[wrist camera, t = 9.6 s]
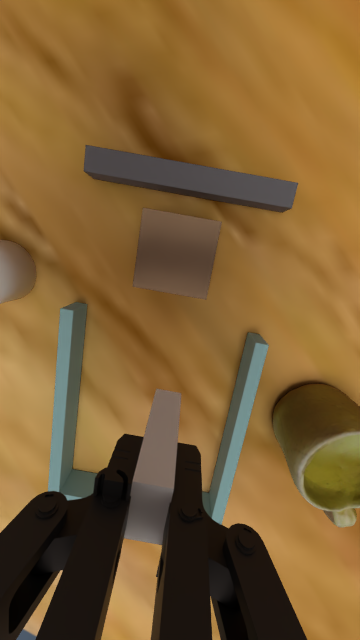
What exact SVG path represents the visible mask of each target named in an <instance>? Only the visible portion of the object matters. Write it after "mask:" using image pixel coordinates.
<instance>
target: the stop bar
mask: <svg viewBox="0 0 360 640" xmlns="http://www.w3.org/2000/svg"><path fill="white" fill-rule="evenodd" d="M84 172H86V173H87V174H88V175H89V176H91V177H92V178H93V179H98V180H103V181H109V182H115V183H120V184H126V185H131V186H137V187H143V188H148V189H154V190H159V191H165V192H171V193H176V194H182V195H187V196H193V197H199V198H204V199H210V200H215V201H221V202H227V203H232V204H238V205H243V206H249V207H255V208H260V209H266V210H271V211H277V212H285V211H287V210H289V209H291V208H292V205H293V201H294V197H295V193H296V189H297V185H298V183H295V182H290V181H284V180H279V179H273V178H268V177H262V176H256V175H251V174H245V173H240V172H234V171H228V170H223V169H217V168H212V167H206V166H201V165H195V164H189V163H184V162H178V161H173V160H167V159H162V158H156V157H150V156H145V155H139V154H134V153H128V152H122V151H117V150H111V149H106V148H100V147H95V146H89V145H86V149H85V162H84Z"/></svg>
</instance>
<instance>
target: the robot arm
mask: <svg viewBox="0 0 360 640" xmlns="http://www.w3.org/2000/svg"><path fill="white" fill-rule="evenodd" d="M180 404H181V393H177V392H172V391H166V390H161V389H156V392H155V396H154V400H153V404H152V408H151V411H150V415H149V419H148V423H147V427H146V431H145V435H144V437H140V436H135V435H129V434H124V435H123V436H122V437H121V438H120V439H119V440H118V441H117V444H116V446H115V449H114V451H113V454H112V457H111V459H110V462H109V464H108V467H107V468H104V469H103V470H101V471H100V472H99V473H98V474H97V476H96V477H95V482H94V491H93V494H91V495H89V496H87V497H85V498H81V499H75V500H67V498H66V496H65V495H63V494H62V493H61V492H57V491H48V492H44V493H42V494H39V495H37V496H36V497H35V498H34V499H32V500H31V501H30V502H29V503H28V504H27V505H26V506H25V507H24V509H23V510H22V511H21V512H20V513H19V514H18V515H17V516H16V517H15V518H14V519H13V520H12V521H11V522H10V523H9V524H8V525H7V526H6V528H5V529H4V530H3V531H2V532H1V533H0V640H16V639H17V637H18V636H19V634H20V633H21V631H22V629H23V628H24V626H25V625H26V623H27V622H28V620H29V619H30V617H31V615H32V614H33V612H34V611H35V609H36V608H37V606H38V605H39V603H40V601H41V600H42V598H43V597H44V595H45V594H46V592H47V590H48V589H49V587H50V586H51V584H52V583H53V581H54V580H55V578H56V576H57V575H58V573H59V572H60V570H63V572H62V575H61V577H60V580H59V582H58V585H57V587H56V590H55V592H54V595H53V597H52V600H51V602H50V605H49V607H48V610H47V612H46V615H45V617H44V620H43V622H42V625H41V627H40V630H39V632H38V635H37V637H36V640H101V636H102V632H103V627H104V623H105V619H106V614H107V610H108V606H109V602H110V597H111V593H112V589H113V584H114V580H115V576H116V572H117V567H118V563H119V559H120V554H121V548H122V543H123V538H126V539H132V540H137V541H143V542H148V543H154V544H159V545H162V552H161V556H160V561H159V566H158V570H157V575H156V577H158V579H157V588H156V597H155V606H154V615H153V625H152V634H151V640H212V626H211V605H210V596H211V600H212V604H213V608H214V612H215V617H216V621H217V625H218V629H219V634H220V638H221V640H307V638H306V636H305V634H304V631H303V629H302V627H301V625H300V623H299V620H298V618H297V616H296V614H295V611H294V609H293V607H292V605H291V602H290V600H289V598H288V596H287V594H286V591H285V589H284V587H283V585H282V582H281V580H280V578H279V576H278V573H277V571H276V569H275V567H274V565H273V562H272V560H271V558H270V556H269V553H268V551H267V549H266V547H265V545H264V542H263V540H262V539H261V537H260V536H259V534H258V533H257V532H256V531H255V530H254V529H253V528H251V527H249V526H247V525H245V524H239V523H238V524H234V525H232V526H231V527H230V528H229V529H228V528H226V527H225V526H223V525H221V524H219V523H217V522H216V521H214V520H213V519H212V518H211V517H210V516H209V515H208V514H207V512H206V511H205V509H204V506H203V501H202V478H201V454H200V452H199V450H198V449H197V447H196V446H194V445H189V444H183V443H178V429H179V417H180Z"/></svg>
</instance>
